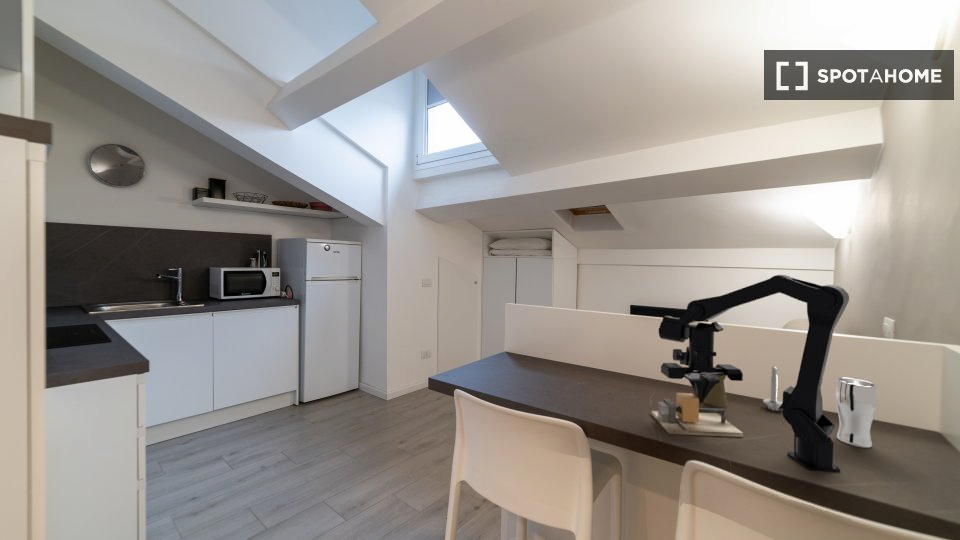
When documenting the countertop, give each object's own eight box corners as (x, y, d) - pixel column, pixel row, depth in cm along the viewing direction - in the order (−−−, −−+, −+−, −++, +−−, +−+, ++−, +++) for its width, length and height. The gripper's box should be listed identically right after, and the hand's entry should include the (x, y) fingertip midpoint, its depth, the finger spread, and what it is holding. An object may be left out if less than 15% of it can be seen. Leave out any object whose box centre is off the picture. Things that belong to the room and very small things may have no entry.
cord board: (743, 436, 92) (743, 413, 92) (669, 433, 94) (669, 410, 94) (716, 416, 104) (717, 395, 104) (651, 414, 106) (651, 393, 106)
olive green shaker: (730, 408, 110) (731, 372, 110) (708, 406, 112) (709, 370, 111) (721, 400, 116) (722, 366, 116) (700, 398, 118) (701, 365, 117)
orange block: (698, 422, 97) (699, 398, 97) (682, 421, 97) (683, 398, 97) (691, 415, 101) (691, 393, 101) (676, 415, 101) (676, 392, 101)
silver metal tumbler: (832, 432, 95) (834, 375, 95) (871, 440, 91) (873, 381, 90) (836, 442, 90) (838, 382, 89) (877, 452, 85) (879, 388, 85)
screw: (776, 413, 107) (759, 407, 111) (787, 411, 108) (769, 404, 113) (778, 369, 106) (760, 364, 111) (788, 367, 108) (770, 363, 112)
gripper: (720, 339, 106) (719, 393, 106) (653, 338, 107) (652, 390, 108) (745, 349, 94) (743, 408, 95) (670, 347, 96) (668, 406, 97)
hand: (699, 402), depth 99 cm, fingers closed
